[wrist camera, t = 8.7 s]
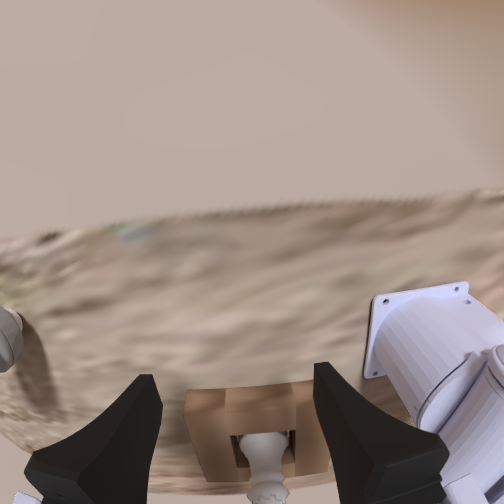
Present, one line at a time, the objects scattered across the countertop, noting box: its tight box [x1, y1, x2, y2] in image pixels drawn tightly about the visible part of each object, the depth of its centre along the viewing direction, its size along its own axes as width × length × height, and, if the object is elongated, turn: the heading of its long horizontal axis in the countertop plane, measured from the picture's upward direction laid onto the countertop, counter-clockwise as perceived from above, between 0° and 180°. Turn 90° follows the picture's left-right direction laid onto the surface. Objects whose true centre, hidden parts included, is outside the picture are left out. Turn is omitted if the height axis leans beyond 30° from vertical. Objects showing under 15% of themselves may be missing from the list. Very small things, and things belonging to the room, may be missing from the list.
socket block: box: [183, 380, 330, 482], centre depth 25 cm, size 12×11×3 cm
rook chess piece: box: [238, 431, 290, 504], centre depth 21 cm, size 4×4×8 cm
